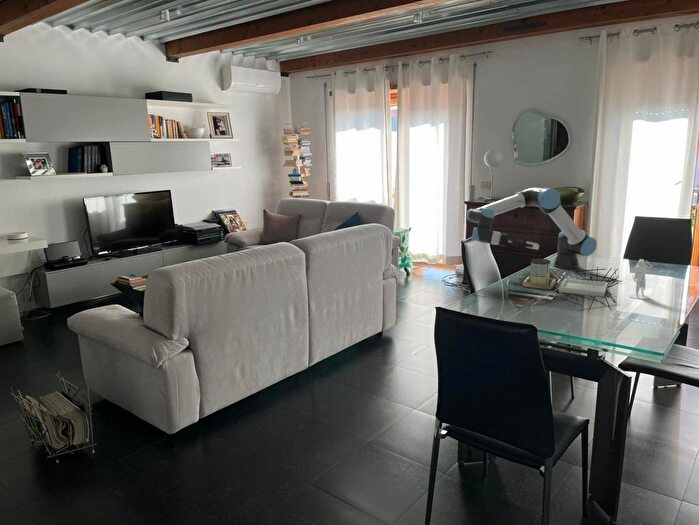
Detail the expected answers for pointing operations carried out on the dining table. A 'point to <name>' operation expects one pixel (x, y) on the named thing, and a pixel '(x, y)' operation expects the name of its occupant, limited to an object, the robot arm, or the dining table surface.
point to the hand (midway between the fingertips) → (538, 246)
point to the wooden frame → (539, 284)
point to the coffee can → (540, 271)
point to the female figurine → (640, 279)
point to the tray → (583, 287)
